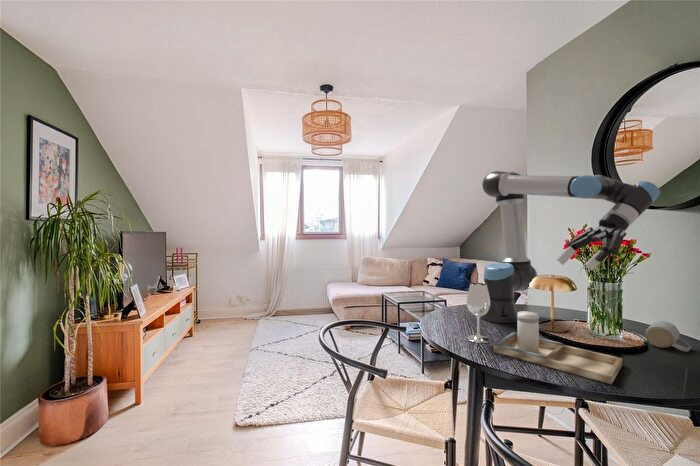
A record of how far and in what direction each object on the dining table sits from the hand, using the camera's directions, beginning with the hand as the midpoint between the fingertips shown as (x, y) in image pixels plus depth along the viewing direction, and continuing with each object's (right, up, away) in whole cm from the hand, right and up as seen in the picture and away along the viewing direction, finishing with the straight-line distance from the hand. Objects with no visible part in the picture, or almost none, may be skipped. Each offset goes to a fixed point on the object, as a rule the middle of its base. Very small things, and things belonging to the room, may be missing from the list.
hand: (573, 264), depth 112 cm
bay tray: (-13, -28, -12) cm, 33 cm away
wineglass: (-30, -28, +6) cm, 41 cm away
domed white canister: (-19, -27, -6) cm, 33 cm away
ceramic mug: (+30, -27, -2) cm, 41 cm away
